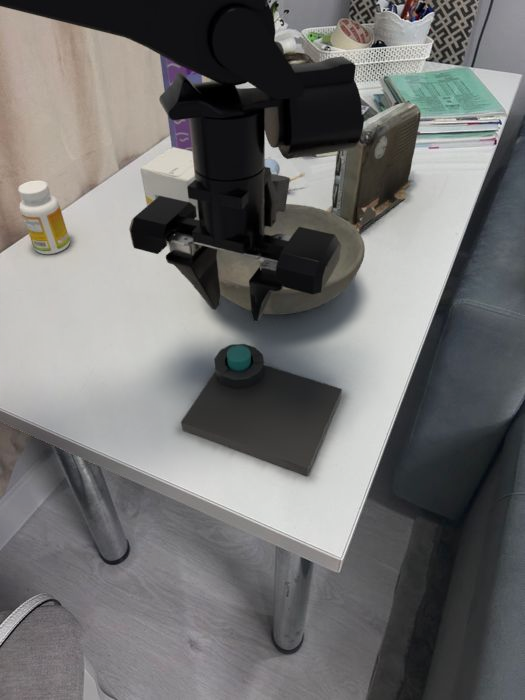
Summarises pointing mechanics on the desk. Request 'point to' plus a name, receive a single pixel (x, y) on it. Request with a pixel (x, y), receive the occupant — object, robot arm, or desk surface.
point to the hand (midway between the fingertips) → (236, 313)
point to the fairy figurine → (277, 168)
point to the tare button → (239, 358)
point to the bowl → (286, 301)
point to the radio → (376, 166)
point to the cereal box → (181, 127)
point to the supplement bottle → (43, 218)
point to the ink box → (169, 176)
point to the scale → (264, 412)
